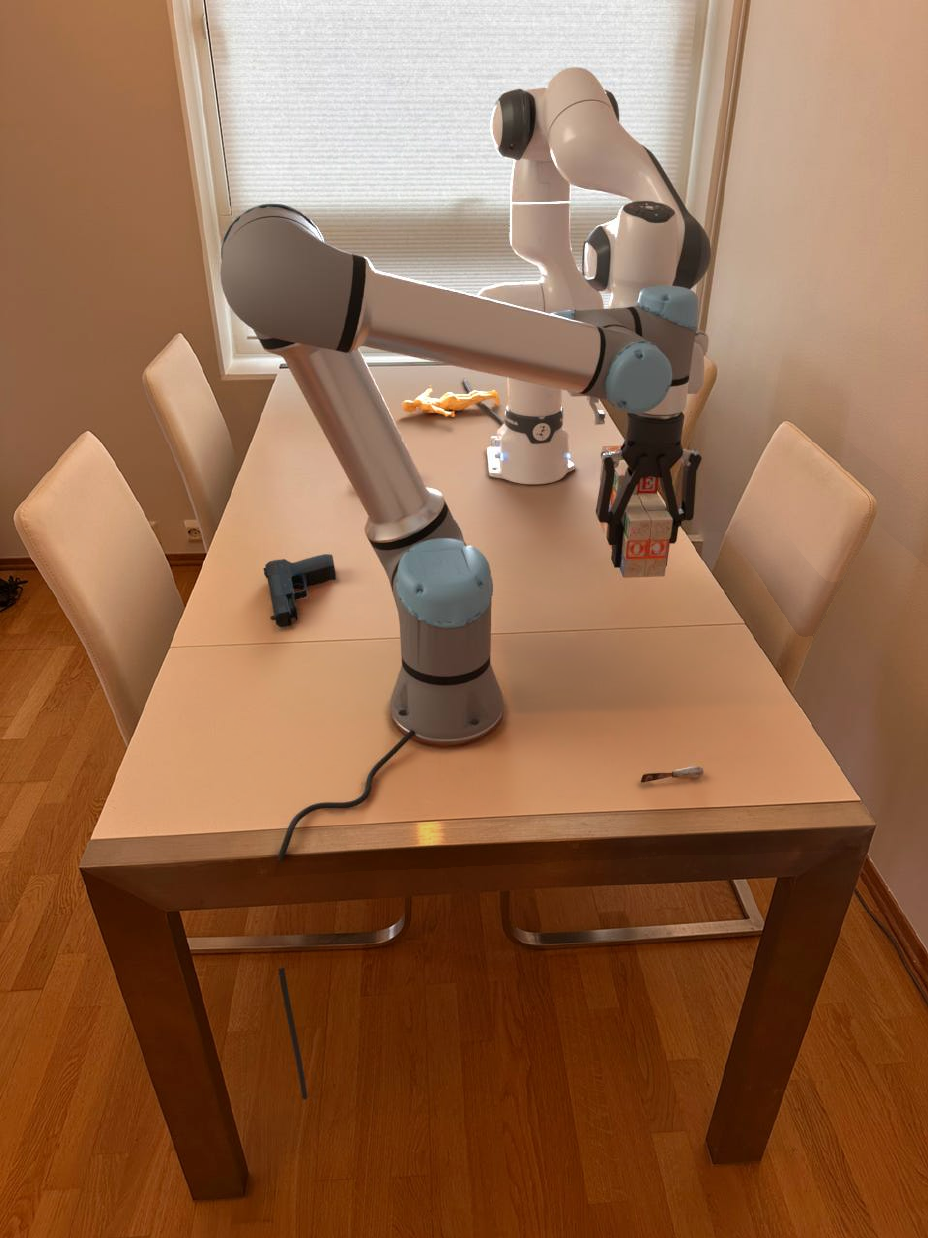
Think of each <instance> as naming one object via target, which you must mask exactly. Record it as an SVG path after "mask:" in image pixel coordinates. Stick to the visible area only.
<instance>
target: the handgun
mask: <svg viewBox="0 0 928 1238" xmlns="http://www.w3.org/2000/svg"><path fill="white" fill-rule="evenodd" d="M333 556H334V555H332V554H330V553H325V554H319V555H315V556H312V557H307V558H304V559H300V560H298V561H295V562H291V561H289V560H287V559H285V558H282V559H281V558H280V559H274V560H270V561H268V562H267V563H266V564H265V565H264V567H263V575H264V576H265V578H266V579H267V584H268V589H269V594H270V600H271V604H272V610H273V615H270V618H269V619H270V620H272V621H275V625H276V626H277V627H279V628H287V627H292V624H293V619H295V621H298V619H299V616H298V608H297V604H296V603H297V602H296V601H297V600H302V599H305V598H308V588H309V587H312V586H317V585H320V584H323V583H326V582H329V581H330V582H331V581H336V579H337V578H336V577H337V576H336V575H337V574H336V566H335V562H334V557H333ZM296 590H299V591H296Z"/></svg>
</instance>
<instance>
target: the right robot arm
mask: <svg viewBox="0 0 928 1238" xmlns="http://www.w3.org/2000/svg"><path fill="white" fill-rule="evenodd" d="M490 132H491V137H492V140H493V145H494V146H493V147H494V148H495V150H496V151H497V153H498V154H499V156H500V157H502V158H504V159H508V160H512V161H513V166H512V173H511V181H510V201H509V202H510V204H509V205H510V208H509V210H510V215H509V217H510V219H509V220H510V221H509V223H510V224H509V225H510V227H509V229H510V230H509V231H510V232H509V242H510V246H511V248H512V250H513V252H514V253H515V254H516V255H517V256H518V257H520V258H521V259H523V260H525V261H526V262H528V263H530V264H532V265H534V266H537V268H538V269H539V273H540V280H537V281H524V282H523V281H520V282H519V281H518V282H503V283H500V284H499V283H497V284H494V285H491V286H486V287H484V288H481V290H480V291H479V292H478V293H477V295H476V296H479V297H483V298H487V299H491V300H495V301H499V302H503V303H507V304H511V305H515V306H519V307H523V308H527V309H531V310H535V311H539V312H543V313H547V314H551V313H553V312H560V311H567V310H572V309H576V310H584V309H605V306H604V305H605V303H604V299H603V297H602V293H605V294H610V299H609V300H610V301H609V303H608V308H626V307H631V306H637V301H638V298H639V294H640V292H641V290H643V289H644V288H646V287H653V286H661V285H666V286H678V287H684V288H687V289H690V290H692V289H693V288H694V287H695V286H696V285H697V284H698V283H699V282H700V281H701V280H702V279H703V278H704V276H705V275H706V274H707V272H708V270H709V267H710V264H711V257H712V247H711V242H710V238H709V236H708V234H707V232H706V229H704V227H703V226H702V224H701V223H700V222H699V221H698V220H697V219H696V218H695V217H694V216H693V215H692V214H691V213H690V211H689V210H688V209H687V207H686V205H685V203H684V202H683V200H682V199H681V197H680V195H679V193H678V192H677V190H676V188H675V187H674V184H673V183H672V182H671V180H670V177H668V175H667V173H666V171H665V169H664V167H663V166H662V165H661V163H660V161H659V160H658V158H657V157H656V156H655V154H654V153H653V152H652V151H651V150H650V149H649V148H647V147H646V146H644V144H641V143H640V142H639V141H637V140H636V139H635V138H634V137H633V136H632V135H631V134H629V132H628V131H627V130H626V129H625V128H624V126H623V125H622V124H621V122H620V108H619V103H618V101H617V99H616V97H615V95H614V94H613V92H612V91H610V90H608V89H605V88H604V87H603V86H602V84H601V82H600V81H599V80H598V78H597V77H596V76H595V74H593V72H591V71H589V70H588V69H586V68H584V67H578V66H575V67H574V66H572V67H568V68H565V69H563V70H561V71H559V72H557V73H556V74H555V75H554V76H553V77H552V78H551V79H550V81H549V82H548V84H547V85H546V87H538V88H530V89H522V88H517V89H512V90H509V91H506V92H504V93H502V94H501V95H500V96H499V97H498V98H497V100H496V101H495V103H494V106H493V110H492V115H491V120H490ZM571 186H574V187H575V188H577V189H582V190H585V191H590V192H597V193H603V194H609V195H613V196H616V197H620V198H623V199H626V200H628V201H629V202H628V203H627V204H624V205H623V206H622V207H621V208H620V209H619V212H618V215H617V217H616V218H614V219H613V220H611V221H609V222H606V223H603V224H598V225H596V226H595V228H593V230H592V231H591V232H589V234H588V236H587V237H586V238H585V239H584V242H583V246H582V257H581V258H582V259H581V260H582V261H581V264H582V265H581V270H580V268H579V266H578V265H577V262H576V260H575V257H574V254H573V250H572V249H573V248H572V243H571V202H570V201H571ZM630 201H631V202H630ZM709 342H710V340H709V335H708V334H707V333H706V332H705V331H704V330H701V328H700V327H697V331H696V334H695V340H694V347H693V354H692V361H691V368H690V376H689V384H688V393H687V395H696V394H698V393H699V392H700V391H701V390H702V389H703V387H704V384H705V357H706V355H707V353H708V350H709ZM506 380H507V405H506V407H505V411H504V419H502V418H501V417H500V416H499V415H497V413H495V411H493V410H492V409H491V408H489V407H488V406H487V405H486V404H485V403H484V402H483V401H482V402H478V403H477V404H478V405H480V406H481V407H482V408H483V409H484V410H485V411H487V412H488V413H489V414H490V415H491V416H492V417H493V418H495V419H496V421H498V422H499V423H500V424H501V426H500V427H499V428H498V429H497V432H496V436H491V437H490V446H489V447H487V449H486V458H487V469H488V476H489V477H491V478H496V479H503V480H506V481H508V482H512V483H516V484H522V485H546V484H552V483H555V482H558V481H560V480H562V479H563V478H564V477H565V476H566V474H568V473H571V472H572V471H574V470H575V464H574V463H573V462H572V461H571V460H569V459H571V454H570V453H569V433H568V432H567V431H566V430H565V429H564V428H563V425H564V416H565V415H564V408H563V406H562V403H563V390H562V389H557V388H553V387H548V386H543V385H539V384H534V383H530V382H525V381H521V380H516V379H511V378H507V377H506ZM462 382H463V385H464V387H465V389H466V391H467V393H468V394H469V393H471V392H473V391H472V390H471V388H470V386H469V384H468V382H467V379H466V378H465V377H464V378H462ZM566 392H567V394H568V395H569V396H571V397H586V400H587V402H588V404H589V406H590V408H591V409H592V411H593V414H592V423H593V425H594V426H599V425H600V426H601V425H605V419H606V412H605V411H604V410H603V409H600V410H599V409H598V407H597V405H596V404H599V400H600V398H596V397H591V396H587V395H583V394H580V393H575V392H571V391H566Z"/></svg>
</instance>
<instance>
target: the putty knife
mask: <svg viewBox="0 0 928 1238" xmlns="http://www.w3.org/2000/svg"><path fill="white" fill-rule="evenodd" d="M704 772H705V771H704V768H702V767H701V766H697V765H695V766H688V767H683V768H679V769H675V770H673V771H671V772H653V773H652V772H651V773H650V772H649V773H644V774H642V776H641V779H640V783H642V784H645V783H648V782H653V781H659V780H665V779H668V778H673V779H674V778H675V779H693V778H694V779H695V778H700V777H702V776H703V775H704Z"/></svg>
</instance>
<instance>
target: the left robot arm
mask: <svg viewBox="0 0 928 1238" xmlns="http://www.w3.org/2000/svg"><path fill="white" fill-rule="evenodd" d="M220 249H221V250H220V259H221V263H220V273H219V274H220V282H221V283H220V284H221V287H222V292H223V295H224V297H225V299H226V302H227V304H228V305H229V307H230V309H231V310H232V312H233V314H235V315H236V317H237V318H238V319H239V320H240V321H242V322H243V324H245V325H246V326H248V327H249V328H251V329H252V330H253V332H254V334H255V335H256V337H257V339H258V341H259V343H260V345H261V346H262V349H263V350H264V351H265V352H268V353H270V354H273V355H277V356H279V357H281V358H283V360H284V362H285V364H286V366H287V367H288V369H289V371H290V373H291V375H292V377H293V378H294V381H295V382H296V384H297V386H298V388H299V389H300V392H301V394H302V395H303V397H304V399H305V401H306V403H307V405H308V406H309V408H310V410H311V412H312V414H313V416H314V417H315V419H316V422H317V423H318V426H319V428H321V430H322V432H323V434H324V436H325V438H326V440H327V442H328V444H329V445H330V448H331V449H332V451H333V453H334V455H335V457H336V458H337V460H338V462H339V464H340V466H341V468H342V469H343V472H344V473H345V476H346V477H347V480H348V481H349V482H350V484H351V486H352V488H353V490H354V492H355V494H356V496H357V497H358V499H359V501H360V503H361V505H362V507H363V508H364V510H365V513H366V514H367V516H368V517H367V520H366V522H365V526H364V534H365V536H366V538H367V540H368V541H369V544H370V545H371V547H372V549H373V551H374V553H375V555H376V556H377V558H378V560H379V562H380V563H381V565H382V567H383V569H384V571H385V574H386V576H387V579H388V583H389V585H390V589H391V593H392V596H393V599H394V603H395V607H396V611H397V615H398V620H399V633H400V634H399V635H400V655H401V667H400V669H399V672H398V675H397V678H396V681H395V684H394V687H393V690H392V693H391V696H390V718H391V721H392V724H393V725H394V727H395V728H396V729H397V731H398V732H399V733H400V734H402V735H403V737H402V738H401V739H400V740H399V741H398V742H397V743H396V744H395V746H393V747H392V748H391V749H390V750H389V751H388V752H387V753H386V754H385V755H384V756H383V757H381V759H379V761H377V762H376V764H375V765H374V766H373V767H372V768H371V770H370V771H369V773H368V775H367V777H366V781H365V787H364V791H363V793H362V794H361V795H360V796H359V797H357V798H355V799H353V800H350V801H338V802H337V801H336V802H334V801H331V802H330V801H329V802H328V801H327V802H326V801H325V802H318V803H314V804H311V805H309V806H306V807H305V808H304V809H302V810H301V811H299V812H298V813H297V814H296V815H294V817H293V818H292V819H291V821H290V822H289V825H288V827H287V829H286V832H285V835H284V838H283V841H282V844H281V847H280V849H279V852H278V854H277V855H278V856H277V861H281V862H282V860H284V859H285V857H286V853H287V851H288V848H289V845H290V842H291V839H292V836H293V833H294V831H295V828H296V827H297V824H298V823H300V822H301V820H302V819H303V818H305V817H306V816H307V815H309V814H310V813H313V812H314V811H318V810H323V809H337V810H338V809H350V808H354V807H357V806H359V805H361V804H362V803H364V802H365V801H366V800H367V799H368V797H369V796H370V793H371V791H372V785H373V780H374V777H375V776H376V774H377V773H378V772H379V771H380V769H381V768H382V767H383V766H384V765H385V764H386V763H387V762H388V761H389V760H390V759H392V758H393V757H394V756H395V755H396V754H397V752H399V751H400V750H401V749H402V747H404V745H406V743H407V742H409V741H410V740H411V741H413V742H415V743H417V744H420V745H421V744H422V745H425V746H430V747H437V748H454V747H455V748H457V747H463V746H467V745H471V744H473V743H476V742H480V741H481V740H483V739H485V738H486V737H488V736H489V735H491V734H492V733H493V732H494V731H495V730H496V729H498V727H499V726H500V724H501V722H502V720H503V717H504V697H503V693H502V690H501V687H500V685H499V682H498V679H497V677H496V674H495V672H494V668H493V666H492V664H491V654H492V653H491V651H492V649H491V648H492V647H491V645H492V596H493V594H494V583H493V577H492V570H491V566H490V562H489V560H488V558H487V557H486V556H485V555H484V554H483V553H482V552H481V551H480V550H479V549H478V548H477V547H475V546H473V545H467V544H466V542H465V539H464V535H463V532H462V530H461V528H460V525H459V524H458V522H457V520H455V519H454V516H453V514H452V512H451V509H450V508H449V506H448V504H447V502H446V500H445V498H444V496H443V494H442V493H441V492H440V491H439V490H437V489H434V488H430V487H427V486H426V483H425V482H424V480H423V478H422V475H421V473H420V471H419V469H418V467H417V465H416V463H415V461H414V459H413V457H412V455H411V453H410V451H409V448H408V446H407V444H406V443H405V440H404V438H403V436H402V434H401V431H400V430H399V428H398V426H397V423H396V422H395V420H394V418H393V416H392V413H391V412H390V409H389V408H388V405H387V403H386V401H385V399H384V397H383V395H382V393H381V391H380V388H379V387H378V384H377V383H376V379H375V378H374V376H373V374H372V371H371V370H370V368H369V366H368V363H367V362H366V360H365V358H364V355H363V353H362V351H361V349H360V348H361V347H366V348H369V349H374V350H378V351H384V352H388V353H393V354H398V355H403V356H407V357H410V358H411V357H412V358H416V359H420V360H425V361H428V362H429V361H430V362H434V363H437V364H443V365H448V366H452V367H457V368H461V369H466V370H469V371H470V370H471V371H475V372H479V373H485V374H489V375H494V376H498V377H503V378H506V379H507V378H511V379H516V380H521V381H525V382H530V383H534V384H539V385H543V386H548V387H553V388H557V389H562V391H566V392H567V391H571V392H575V393H580V394H583V395H587V396H591V397H596V398H599V400H600V399H601V400H604V401H608V402H609V403H610V405H612V406H613V407H614V408H615V409H619V410H621V411H623V412H625V413H626V423H625V434H624V441H623V443H622V445H620V446H621V448H620V450H617V451H613V452H610V453H609V452H608V451H603V452H602V451H601V453H600V459H601V462H602V464H603V471H602V476H601V482H600V481H599V482H600V484H599V487H598V488H599V489H598V495H597V500H596V501H597V502H596V506H595V507H596V508H595V514H596V517H597V519H598V522H599V523H600V524H601V523H604V522H605V523H607V524H608V525H607V536H605V538H606V541H607V543H608V546H610V545H612V549H611V556H610V560H611V563H612V565H613V569H614V568H615V569H618V568H619V569H620V560H621V550H622V541H623V531H624V527H623V524H622V522H621V518H622V516H623V514H624V512H625V509H626V507H627V505H628V503H629V501H630V498H631V496H632V494H633V492H634V490H635V487H636V485H638V484H639V482H640V480H641V478H646V477H650V476H651V477H655V478H659V481H660V482H659V483H660V487H661V491H662V496H663V499H664V500H663V501H664V505H665V507H666V508H667V511H668V512H669V514H670V515H671V517H672V519H673V522H672V530H671V537H670V539H669V546H670V545H671V544H672V545H674V544H676V542H677V539H678V534H679V528H680V527H681V526H682V524H683V522H685V521H692V520H694V515H695V501H696V485H697V484H696V483H697V472H698V469H699V466H700V464H701V462H702V459H703V457H702V456H701V454H700V453H699V452H698V450H697V449H696V448H690V449H687V448H683V446H682V437H683V430H684V423H685V414H684V413H683V412H684V411H686V408H687V401H688V394H687V393H688V384H689V376H690V368H691V361H692V354H693V347H694V340H695V334H696V331H697V328H698V318H699V297H698V295H697V294H696V292H695V291H694V290H692V289H687V288H684V287H678V286H666V285H661V286H653V287H646V288H644V289H643V290H641V292H640V294H639V298H638V301H637V306H631V307H626V308H609V307H607V308H604V309H584V310H576V309H572V310H567V311H560V312H553V313H551V314H547V313H543V312H539V311H535V310H531V309H527V308H523V307H519V306H515V305H511V304H507V303H503V302H499V301H495V300H491V299H487V298H483V297H479V296H477V295H475V294H470V293H467V292H462V291H458V290H455V289H450V288H446V287H442V286H438V285H435V284H431V283H427V282H424V281H423V282H422V281H420V280H419V281H418V280H416V279H415V280H414V279H411V278H408V277H407V278H406V277H403V276H400V275H396V274H395V275H394V274H391V273H387V272H383V271H379V270H376V269H375V268H374V266H373V264H372V263H371V261H370V260H369V258H368V257H366V256H363V255H359V254H356V253H351V252H348V251H346V250H343V249H339V248H337V247H335V246H333V245H331V244H329V243H328V242H325V240H324V237H323V235H322V234H321V232H320V230H319V228H318V226H317V225H315V224H314V222H313V221H312V220H311V218H310V217H308V216H307V215H305V213H303V212H302V211H300V210H298V209H296V208H294V207H292V206H289V205H286V204H281V203H262V204H257V205H255V206H252V207H250V208H248V209H247V210H245V211H243V212H242V213H241V214H239V215H238V216H236V217H235V219H234V220H233V221H232V222H231V223H230V225H229V226H228V227H227V229H226V231H225V233H224V236H223V238H222V242H221V248H220ZM587 396H586V397H587ZM621 459H624V461H625V462H626V464H627V465H628V467H627V470H626V472H625V477H624V479H623V482H622V484H621V486H620V488H619V491H618V493H617V495H616V497H615V500H614V502H613V504H612V506H611V509H610V511H609V505H610V499H611V493H612V488H613V482H614V476H615V469H614V468H617V467H618V465H619V461H620V460H621ZM680 459H681V463H682V465H683V466H682V479H681V480H682V481H681V498H680V499H681V500H680V508H679V506H678V502H677V498H676V493H675V489H674V484H673V477H672V473H671V472H672V471H671V469H672V468H674V466H675V465H676V464H677V462H678V461H679V460H680ZM608 511H609V512H608ZM669 551H670V547H669V548H668V554H670V553H669ZM668 560H669V555H668V556H667V560H666V567H667V566H668ZM285 969H286V968H285V967H281V968H278V969H277V970H278V971H277V972H278V978H279V982H280V988H281V994H282V998H283V999H282V1000H283V1004H284V1010H285V1014H286V1019H287V1023H288V1029H289V1034H290V1038H291V1043H292V1048H293V1053H294V1059H295V1063H296V1069H297V1074H298V1080H299V1086H300V1092H301V1098H302V1099H301V1100H303V1101H306V1100H307V1099H308V1090H307V1084H306V1077H305V1073H304V1066H303V1060H302V1055H301V1051H300V1046H299V1040H298V1035H297V1034H298V1033H297V1030H296V1029H297V1028H296V1024H295V1020H294V1014H293V1010H292V1004H291V1000H290V993H289V988H288V983H287V976H286V970H285Z"/></svg>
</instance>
